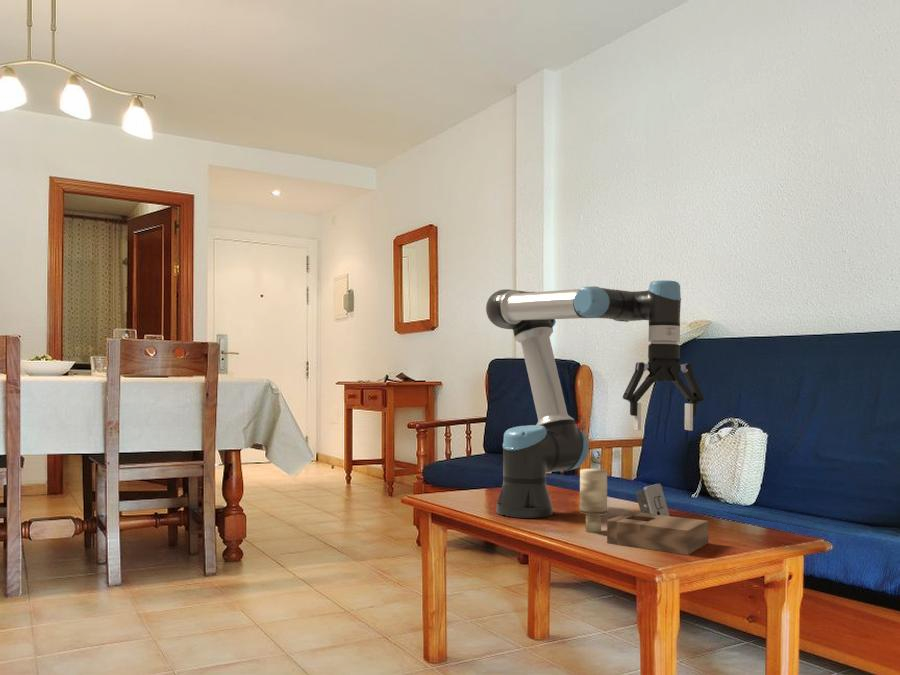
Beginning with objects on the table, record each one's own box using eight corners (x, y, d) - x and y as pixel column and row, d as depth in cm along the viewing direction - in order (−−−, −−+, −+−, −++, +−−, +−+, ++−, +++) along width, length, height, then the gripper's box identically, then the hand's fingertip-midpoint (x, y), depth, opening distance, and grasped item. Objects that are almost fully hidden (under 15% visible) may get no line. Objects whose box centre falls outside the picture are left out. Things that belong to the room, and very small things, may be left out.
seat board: (607, 542, 164) (607, 520, 165) (631, 532, 176) (631, 511, 176) (687, 555, 154) (687, 530, 154) (708, 543, 165) (708, 520, 165)
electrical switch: (656, 524, 187) (652, 487, 188) (636, 523, 190) (633, 487, 191) (670, 519, 194) (667, 483, 195) (651, 518, 198) (648, 483, 199)
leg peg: (575, 531, 176) (575, 470, 177) (587, 527, 182) (587, 468, 182) (600, 535, 172) (600, 472, 173) (611, 530, 178) (611, 470, 179)
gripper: (622, 341, 176) (621, 430, 176) (718, 344, 181) (717, 431, 180) (610, 342, 184) (608, 427, 183) (703, 345, 188) (702, 428, 187)
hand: (662, 430), depth 181 cm, fingers open, 13 cm apart
